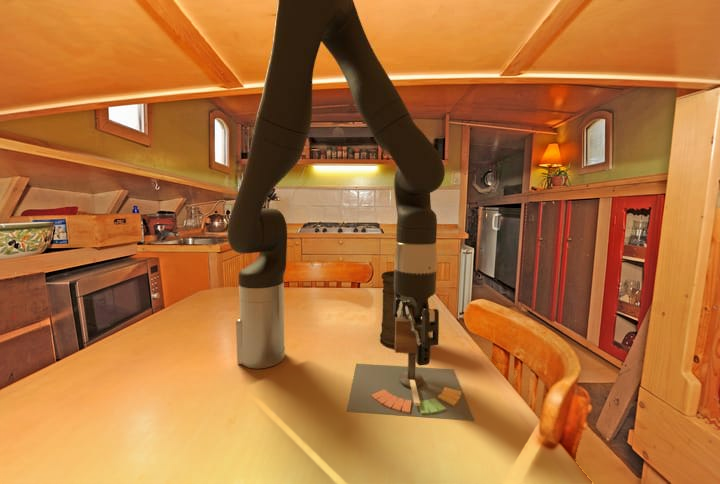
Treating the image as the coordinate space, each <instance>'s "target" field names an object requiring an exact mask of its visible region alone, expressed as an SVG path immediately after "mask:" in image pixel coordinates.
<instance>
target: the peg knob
mask: <svg viewBox="0 0 720 484" xmlns="http://www.w3.org/2000/svg"><path fill="white" fill-rule="evenodd" d="M416 325H418V326H420V325H422V324H416ZM420 334H421V338H422V331H420ZM431 334H432V332H431ZM416 349H417V340H416V336H415V333H414V332H412V330H411V326H410V322H409V320H408V319H407V318H405V317H395V349H394V351H395V352H394V353H397V354H398V353H399V354H400V353H401V354H407V355H408V356H407V367H408V372H404V373H402V374H401V375H400V382H401V383H402V384H403V385H405V386H408V387H411V391H412V396H413V400H414V405H415V406H420V400H419V396H418V391H417V387H419V386H421V385H422V384H423V377H422V376H421V375H420V374H418V373H415V367H417V366H416V365H417V363H416ZM431 353H432V346H430V355H431Z"/></svg>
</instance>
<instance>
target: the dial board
mask: <svg viewBox="0 0 720 484" xmlns="http://www.w3.org/2000/svg"><path fill="white" fill-rule="evenodd" d="M404 372H408V366H404V365H403V366H402V365H386V364H372V363H370V364H369V363H355V367H354V372H353V378H352V383H351V387H350V393H349V398H348V403H347V406H346V407H347V408H346V413H360V414H361V413H362V414H374V415H388V416H389V415H391V416H399V417H400V416H401V417H402V416H403V417H413V418H414V417H415V418H428V419H442V420H443V419H444V420H445V419H446V420H455V421H456V420H458V421H467V422H470V421H471V422H475V418H474V416H473V413H472V411H471V409H470V406H469V403H468V401H467V399H466V396H465V393H464V392H463V389H462V387H461V383H460V381H459V379H458V376H457V374H456V371H455V369H454V368H441V367H440V368H437V367H433V368H432V367H424V366H423V367H422V366H421V367H420V366H416V367H415V373H418V374H420V375H421V376H422V377H423V384H422V385H421V386H419V387H417V391H418V396H419V400H420V406H415V405H414V400H413V396H412V391H411V387H408V386H405V385H403V384H402V383H401V382H400V375H401V374H402V373H404Z"/></svg>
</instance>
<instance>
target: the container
mask: <svg viewBox="0 0 720 484" xmlns="http://www.w3.org/2000/svg"><path fill="white" fill-rule="evenodd" d="M380 278H381V279H382V285H383V286H382V316H381V317H382V319H381V324H380V325H381V333H380V334H379V338H380V339H379V342H380V344H381V345H382V346H383V347H385V348H388V349H391V350H395V318H394V317H393V306H394V270H389V271H385V272H382V273H381V277H380ZM398 309H399V307H398Z"/></svg>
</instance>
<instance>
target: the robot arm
mask: <svg viewBox="0 0 720 484" xmlns="http://www.w3.org/2000/svg"><path fill="white" fill-rule="evenodd" d="M321 43H322V44H323V45H324V46H325V48H326V49H327V51H328V52H329V53H330V55H331V56H332V58H333V59H334V60H335V62H336V63H337V65H338V66H339V67H338V68H339V69H340V70H341V73H342V74H343V76H344V78H345V80H346V84H347V86H348V88H349V90H350V93H351V96H352V98H353V101H354V104H355V105H356V108H357V110H358V113H359V114H360V116H361V118H362V120H363V121H364V123H365V125H366V127H367V128H368V130H369V132H370V134H371V136H372V137H373V139H374V140H375V142H376V144H377V146H379V148H380V149H381V150H382V151H385V152H387V153H388V154H389V155H390V157H391V159H392V160H393V161H394V163H395V165H396V169H395V172H394V173H395V174H394V180H393V182H394V183H393V184H394V185H393V186H394V187H393V189H394V200H395V207H396V213H397V214H396V216H397V218H396V219H397V220H396V238H395V239H396V240H395V241H396V242H395V251H394V262H393V264H394V265H393V268H394V269H393V271H394V306H393V317H394V318H395V317H405V318H407V319H408V320H409V322H410V326H411V330H412V332H414V333H415V336H416V340H417V349H416V365H418V367H420V366H421V367H422V366H427V365H428V364H430V358H431V357H430V356H431V354H430V346H431V347H433V346H437V345H439V333H440V332H439V329H440V328H439V327H440V326H439V325H440V323H439V322H440V317H439V315H440V313H439V309H437V308H432V309H431V308H430V306H429V298H430V297H432V296H434V295H435V294H436V291H437V289H436V287H437V272H438V271H437V270H438V269H437V267H438V251H437V236H438V235H437V234H438V232H437V230H438V228H437V227H438V218H437V215H436V212H434V210H433V209H432V204H431V193H433V192H435V191H437V190H438V189H439V188H440V187H441V186H442V185H443V182H444V180H445V177H446V176H445V175H446V171H445V165H444V162H443V160H442V156H441V155H440V153H439V152H438V150H437V149H436V147H435V146H434V144H433V143H432V142H431V141H430V139H429V138H428V137H427V136H426V135H425V134H424V132H423V131H422V130H421V129H420V127H418V126H417V125H416V123H415V122H414V119H413V117H412V116H411V114H410V112H409V109H408V108H407V107H406V105H405V103H404V101H403V99H402V97H401V95H400V94H399V92H398V90H397V88H396V87H395V85H394V83H393V82H392V80H391V78H390V76H389V75H388V73H387V72H386V70H385V68H384V67H383V65H382V64H381V62H380V60H379V59H378V56H377V55H376V53H375V51H374V49H373V47H372V46H371V43H370V41H369V39H368V37H367V35H366V32H365V30H364V27H363V24H362V22H361V19H360V17H359V13H358V10H357V8H356V5H355V1H354V0H278V1H277V10H276V15H275V25H274V32H273V39H272V46H271V53H270V58H269V62H268V65H267V68H266V69H267V70H266V76H265V80H264V84H263V90H262V95H261V99H260V102H259V106H258V109H257V114H256V117H255V122H254V127H253V130H252V131H253V132H252V137H251V143H250V147H249V151H248V156H247V160H246V165H245V168H244V172H243V176H242V180H241V182H240V184H239V185H240V186H239V189H238V192H237V194H236V198H235V200H234V203H233V207H232V210H231V213H230V216H229V221H228V224H227V225H228V226H227V241H228V243H229V246H230V248H231V249H232V250H233V251H234V252H236V253H237V254H255V253H256V254H257V253H258V256H257V258H256V259H255V261H253V262H251V264H249V265H248V266H246V267H244V268H242V269H240V271H239V273H238V297H239V298H238V299H239V301H238V302H239V304H238V305H239V318H238V319H237V320H235V321H236V322H235V331H236V333H235V334H236V335H235V336H236V337H235V338H236V363H237V364H240V365H242V366H243V367H246V368H249V369H254V370H255V369H266V368H269V367H273V366H276V365H277V364H279V363H281V362H282V361H283V360H284V359H285V355H286V354H285V353H286V352H285V351H286V347H285V345H286V344H285V343H286V342H285V295H284V294H285V291H284V290H285V289H284V286H285V285H284V284H285V283H284V278H285V277H284V276H285V272H286V269H287V253H288V252H287V249H288V227H287V220H286V218H285V216H284V214H283V213H282V212H281V211H280V210H279V209H276V208H265V207H264V206H265V205H264V204H265V203H266V200H267V199H268V197H269V196H270V193H271V191H273V189H274V188H275V187H276V186H277V185H278V184H279V183H280V182H281V181H282V180H283V179H284V178H285V177H286V175H288V174H289V173H290V172H291V171H292V170H293V169H294V167H295V166H296V165H297V163H298V162H299V161H300V159H301V157H302V155H303V152H304V150H305V149H304V148H305V146H306V145H305V144H306V142H307V139H308V135H309V133H310V128H311V126H312V119H313V117H312V116H313V77H314V69H315V64H316V60H317V56H318V52H319V49H320V46H321ZM398 307H399V309H398ZM416 324H422V325H420V326H418V325H416ZM420 331H422V338H421V334H420ZM431 332H432V333H431Z"/></svg>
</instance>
